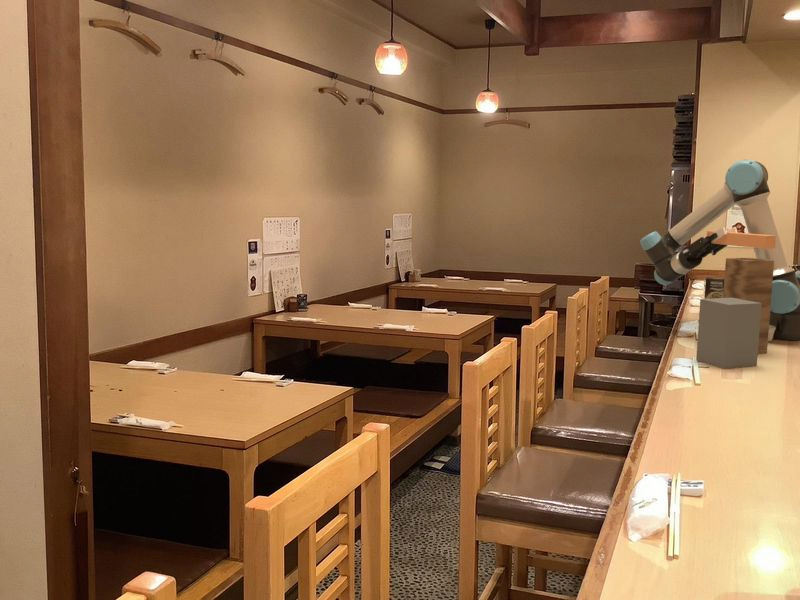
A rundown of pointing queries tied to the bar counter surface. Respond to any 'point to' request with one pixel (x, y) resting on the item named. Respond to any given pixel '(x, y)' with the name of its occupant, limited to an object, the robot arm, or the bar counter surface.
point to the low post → (728, 332)
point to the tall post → (751, 288)
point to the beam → (746, 240)
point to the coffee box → (714, 288)
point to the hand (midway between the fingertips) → (730, 230)
